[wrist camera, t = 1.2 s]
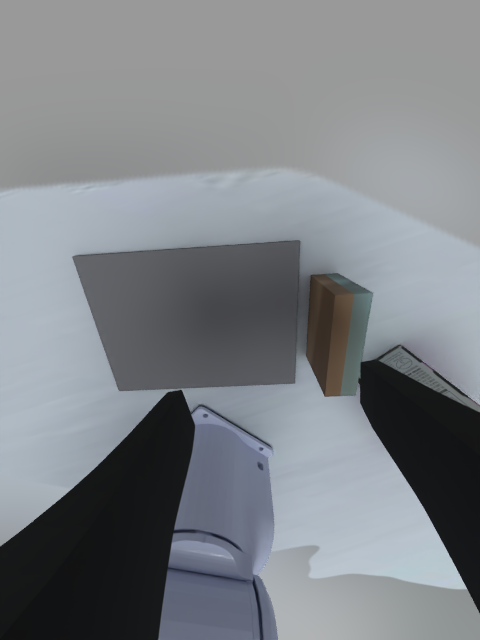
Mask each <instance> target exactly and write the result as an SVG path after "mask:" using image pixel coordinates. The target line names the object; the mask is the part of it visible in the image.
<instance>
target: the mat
mask: <svg viewBox="0 0 480 640" xmlns="http://www.w3.org/2000/svg"><path fill="white" fill-rule="evenodd" d="M299 256H300V241H299V240H298V241H284V242H269V243H255V244H240V245H226V246H211V247H197V248H182V249H168V250H153V251H139V252H124V253H110V254H95V255H81V256H73V257H72V258H73V261H74V264H75V266H76V269H77V272H78V275H79V278H80V281H81V284H82V286H83V289H84V292H85V295H86V298H87V301H88V304H89V307H90V309H91V312H92V315H93V318H94V321H95V324H96V327H97V330H98V332H99V335H100V338H101V341H102V344H103V347H104V350H105V352H106V355H107V358H108V361H109V364H110V367H111V370H112V373H113V375H114V378H115V381H116V384H117V387H118V390H119V391H132V390H155V389H178V388H201V387H224V386H247V385H270V384H293V383H295V371H296V342H297V313H298V285H299Z"/></svg>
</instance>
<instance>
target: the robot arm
mask: <svg viewBox="0 0 480 640" xmlns="http://www.w3.org/2000/svg"><path fill="white" fill-rule="evenodd" d="M360 403H361V405H362V407H363V410H364V412H365V414H366V416H367V418H368V420H369V422H370V424H371V426H372V428H373V429H374V431H375V432H376V434H377V436H378V437H379V439H380V440H381V442H382V443H383V445H384V446H385V448H386V450H387V451H388V453H389V454H390V456H391V457H392V459H393V460H394V462H395V463H396V465H397V466H398V468H399V469H400V471H401V472H402V474H403V476H404V477H405V479H406V480H407V482H408V483H409V485H410V486H411V488H412V489H413V491H414V492H415V494H416V496H417V497H418V499H419V501H420V502H421V504H422V506H423V507H424V509H425V511H426V513H427V514H428V516H429V518H430V520H431V522H432V524H433V525H434V527H435V529H436V531H437V533H438V535H439V536H440V538H441V540H442V542H443V544H444V545H445V547H446V549H447V551H448V553H449V555H450V557H451V559H452V561H453V563H454V564H455V566H456V568H457V570H458V572H459V574H460V576H461V578H462V580H463V582H464V583H465V585H466V587H467V589H468V591H469V593H470V595H471V597H472V599H473V601H474V603H475V605H476V607H477V609H478V610H479V613H480V412H478V411H476V410H474V409H472V408H470V407H468V406H465V405H463V404H461V403H459V402H457V401H455V400H453V399H451V398H449V397H447V396H445V395H443V394H441V393H439V392H437V391H435V390H433V389H431V388H429V387H427V386H425V385H424V384H422V383H420V382H418V381H416V380H414V379H412V378H410V377H409V376H407V375H405V374H403V373H401V372H399V371H398V370H396V369H394V368H392V367H390V366H388V365H386V364H384V363H383V362H380V361H378V360H372V361H366V362H360ZM205 414H207V415H205ZM272 454H273V449H272V448H271V447H269V446H268V445H266V444H264V443H263V442H261V441H259V440H258V439H256V438H254V437H253V436H251V435H249V434H248V433H246V432H244V431H243V430H241V429H240V428H238V427H236V426H235V425H233V424H231V423H230V422H228V421H226V420H225V419H223V418H221V417H220V416H218V415H216V414H215V413H213V412H211V411H210V410H208V409H207V408H205V407H198V408H197V409H196V410H195V411H194V412H193V413H192V414H191V413H190V410H189V408H188V405H187V402H186V400H185V397H184V395H183V392H182V390H179V391H173V392H168V393H167V394H166V395H165V396H164V397H163V398H162V399H161V400H160V401H159V402H158V403H157V404H156V405H155V406H154V407H153V409H152V410H151V411H150V412H149V413H148V414H147V415H146V416H145V417H144V418H143V420H142V421H141V422H140V423H139V424H138V425H137V426H136V427H135V428H134V429H133V430H132V432H131V433H130V434H129V435H128V436H127V437H126V438H125V439H124V440H123V441H122V442H121V443H120V444H119V445H118V446H117V447H116V448H115V449H114V450H113V451H112V452H111V453H110V454H109V455H108V456H107V457H106V458H105V459H104V460H103V461H102V462H101V463H100V464H99V465H98V466H97V467H96V468H95V469H94V470H93V471H91V472H90V473H89V474H88V475H87V476H86V477H85V478H84V479H83V480H82V481H80V482H79V483H78V484H77V485H76V486H75V487H74V488H73V489H71V490H70V491H69V492H68V493H67V494H66V495H65V496H63V497H62V498H61V499H60V500H59V501H57V502H56V503H55V504H54V505H52V506H51V507H50V508H49V509H48V510H46V511H45V512H44V513H43V514H41V515H40V516H39V517H38V518H36V519H35V520H34V521H33V522H32V523H30V524H29V525H28V526H27V527H26V528H24V529H23V530H22V531H20V532H19V533H18V534H16V535H15V536H14V537H12V538H11V539H10V540H9V541H7V542H6V543H5V544H3V545H2V546H1V547H0V640H278V636H277V627H276V621H275V615H274V610H273V606H272V602H271V600H270V597H269V595H268V593H267V591H266V588H265V585H264V583H263V581H262V579H261V578H260V577H259V576H258V575H259V573H260V572H261V571H262V569H263V568H264V566H265V565H266V563H267V561H268V558H269V555H270V552H271V548H272V543H273V537H274V514H273V504H272V494H271V484H270V474H269V464H268V458H269V457H270V456H271V455H272Z"/></svg>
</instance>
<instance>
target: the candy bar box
mask: <svg viewBox="0 0 480 640" xmlns="http://www.w3.org/2000/svg"><path fill="white" fill-rule="evenodd" d="M377 360H378V361H380V362H383V363H384V364H386V365H388V366H390V367H392V368H394V369H396V370H398V371H399V372H401V373H403V374H405V375H407V376H409V377H410V378H412V379H414V380H416V381H418V382H420V383H422V384H424V385H425V386H427V387H429V388H431V389H433V390H435V391H437V392H439V393H441V394H443V395H445V396H447V397H449V398H451V399H453V400H455V401H457V402H459V403H461V404H463V405H465V406H468V407H470V408H472V409H474V410H476V411H478V412H480V405H479V404H477V403H476V402H475V401H473V400H472V399H470V398H469V397H468V396H467V395H465V394H464V393H463V392H462V391H460V390H459V389H458V388H456V387H455V386H454V385H452V384H451V383H450V382H449V381H447V380H446V379H445V378H443V377H442V376H441V375H440V374H438V373H437V372H436V371H434V370H433V369H432V368H430V367H429V366H428V365H427V364H425V363H424V362H423V361H421V360H420V359H419V358H417V357H416V356H415V355H414V354H412V353H411V352H410V351H408V350H407V349H406V348H404V347H403V346H398V347H396V348H394V349H393V350H391V351H389V352H387V353H386V354H384V355H383V356H382V357H380V358H379V359H377ZM358 383H359V384H360V373H359V379H358Z"/></svg>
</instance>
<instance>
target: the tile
mask: <svg viewBox="0 0 480 640" xmlns="http://www.w3.org/2000/svg"><path fill="white" fill-rule="evenodd" d="M372 296H373V293H372V292H370V291H369V290H367V289H365V288H363V287H361V286H360V285H358V284H356V283H354V282H353V281H351V280H349V279H347V278H345V277H344V276H342V275H340V274H322V275H311V280H310V298H309V316H308V334H307V352H306V357H307V359H308V361H309V363H310V365H311V368H312V370H313V372H314V374H315V376H316V378H317V381H318V383H319V385H320V387H321V389H322V391H323V394H324V396H325V397H329V396H353V395H356V390H357V385H358V379H359V373H360V362H361V361H362V355H363V349H364V343H365V337H366V332H367V326H368V320H369V314H370V308H371V302H372Z"/></svg>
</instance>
